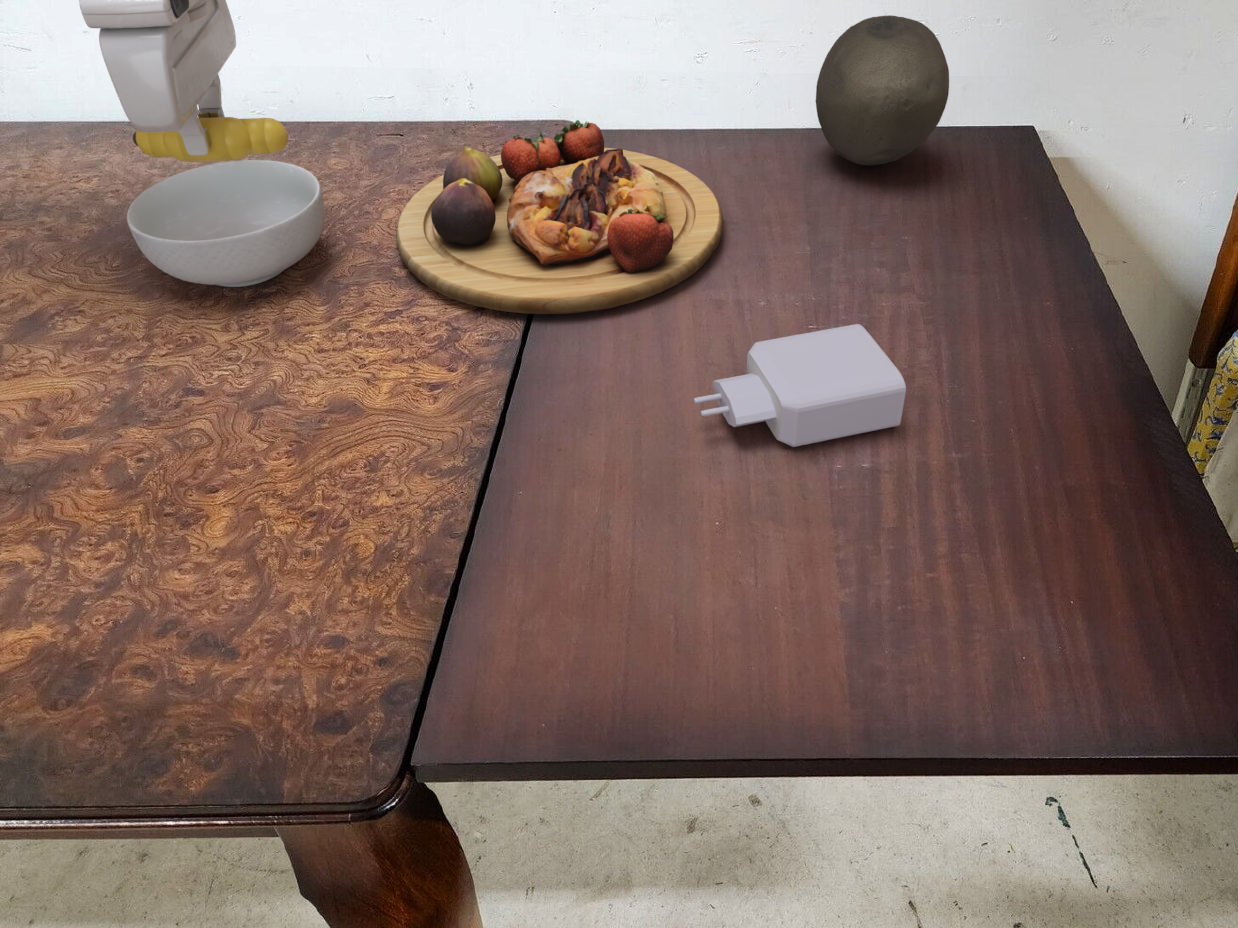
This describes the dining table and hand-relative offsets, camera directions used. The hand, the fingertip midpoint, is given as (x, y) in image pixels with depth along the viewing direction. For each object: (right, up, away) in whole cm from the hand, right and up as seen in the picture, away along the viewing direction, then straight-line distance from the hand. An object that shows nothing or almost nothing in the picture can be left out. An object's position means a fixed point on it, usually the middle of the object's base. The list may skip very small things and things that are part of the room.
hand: (208, 140), depth 95 cm
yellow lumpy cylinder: (0, -1, +1) cm, 2 cm away
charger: (+50, -25, -9) cm, 57 cm away
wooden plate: (+30, -5, +13) cm, 33 cm away
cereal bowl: (0, -9, +8) cm, 13 cm away
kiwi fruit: (+63, +6, +25) cm, 68 cm away
